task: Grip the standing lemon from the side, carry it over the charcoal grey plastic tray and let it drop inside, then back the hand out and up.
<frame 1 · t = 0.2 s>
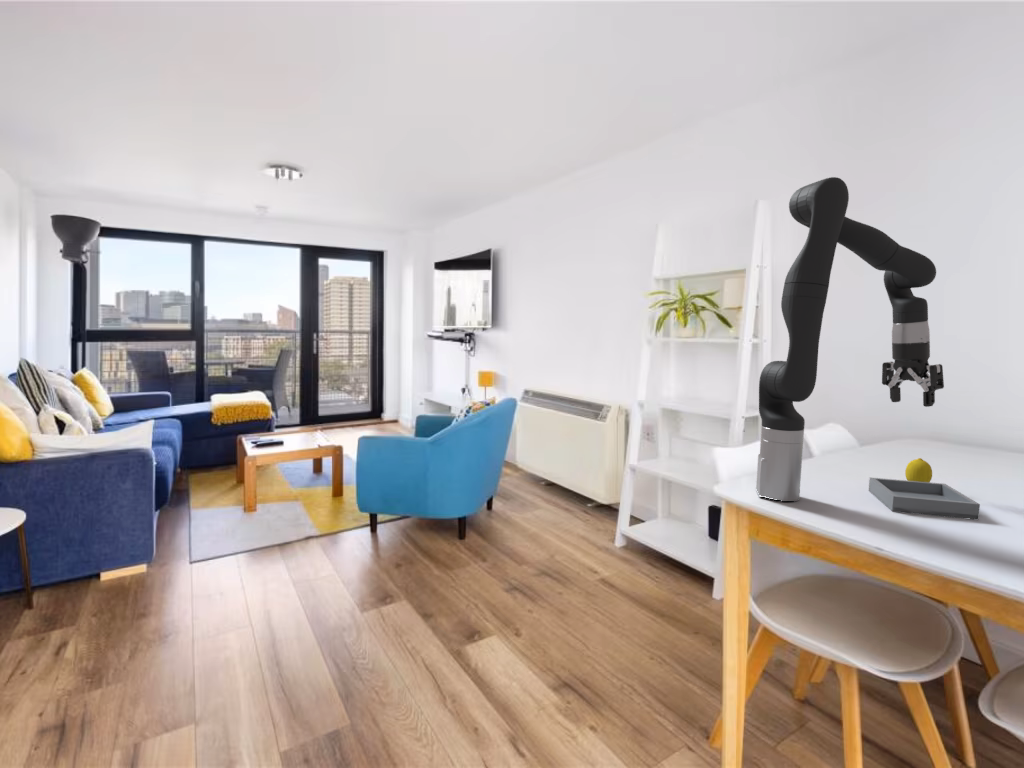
hand: (911, 403, 133), 22 cm above the table, tool pointing down, fingers open, 8 cm apart
lemon: (917, 488, 137), on the table
tray: (918, 504, 124), on the table
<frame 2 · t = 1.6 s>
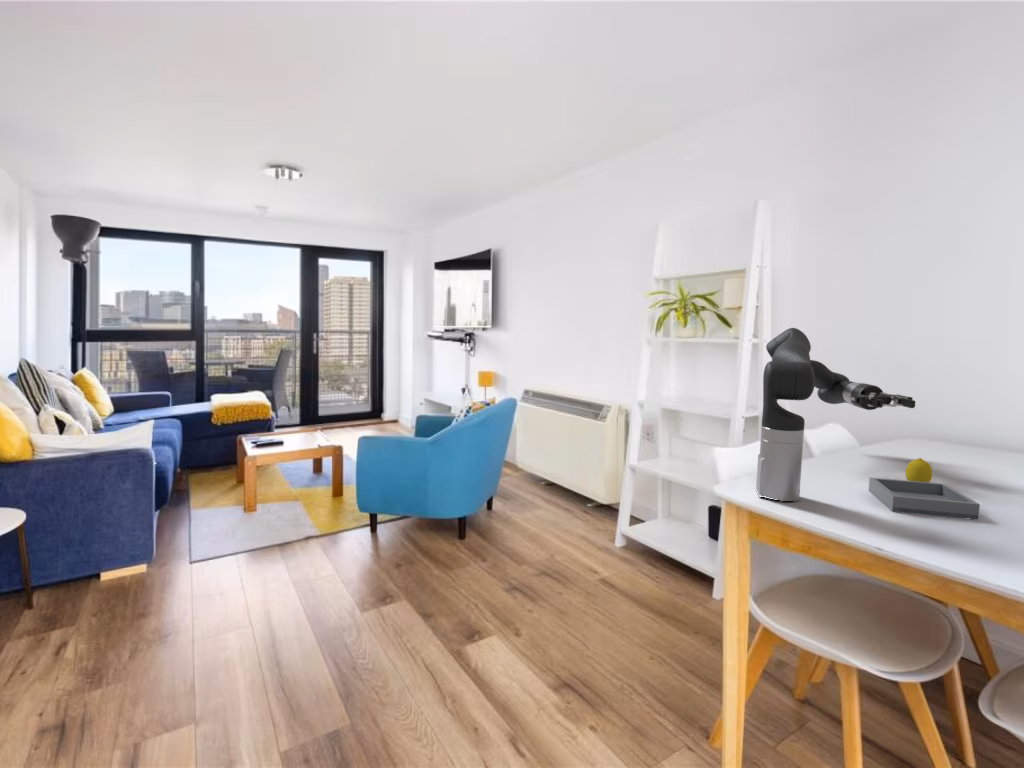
hand: (897, 404, 145), 21 cm above the table, tool horizontal, fingers open, 8 cm apart
nothing on the table moved.
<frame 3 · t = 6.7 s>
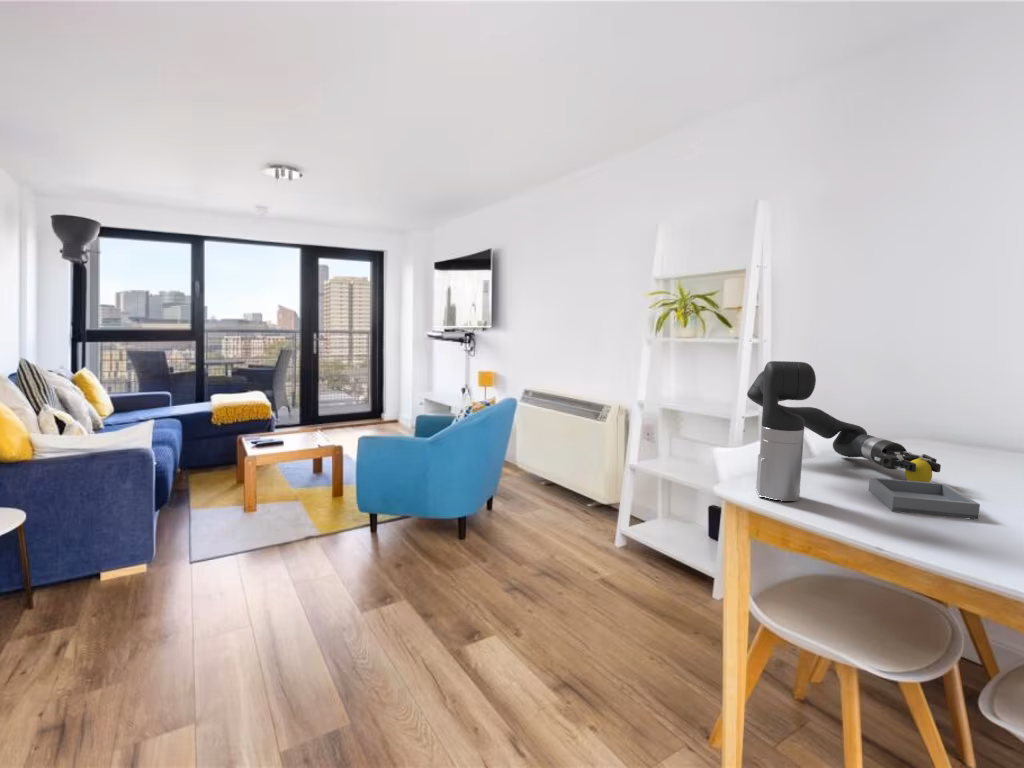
hand: (926, 468, 134), 6 cm above the table, tool horizontal, fingers closed on lemon, 5 cm apart
lemon: (917, 488, 137), on the table, touching gripper
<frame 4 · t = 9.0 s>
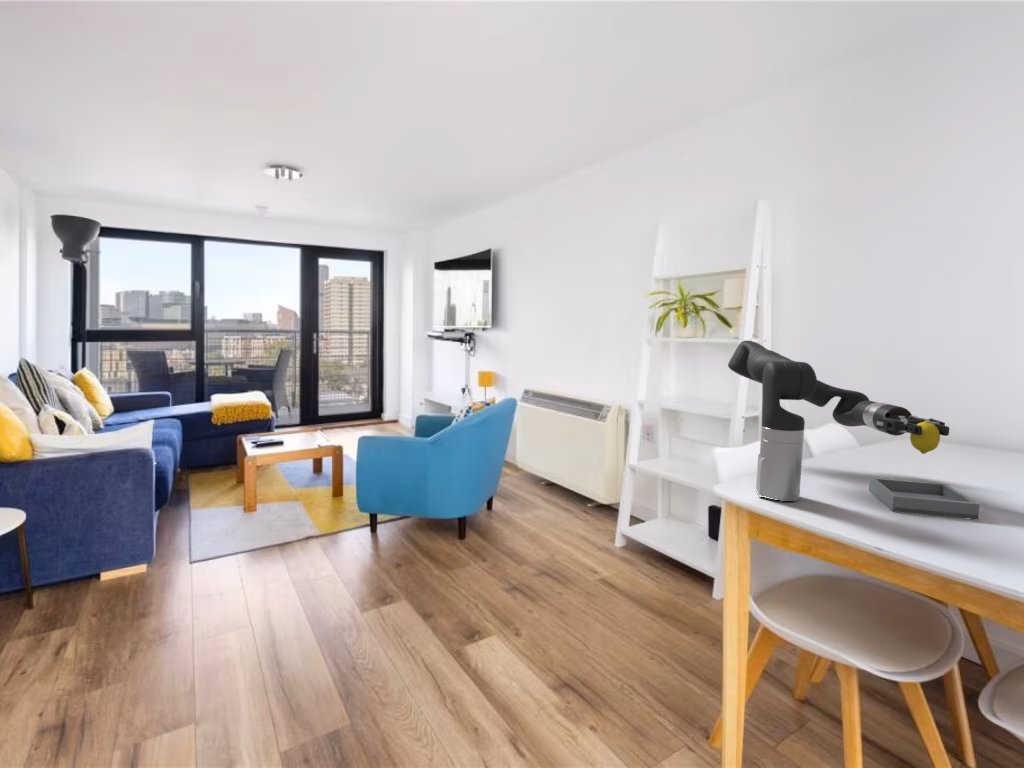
hand: (933, 431, 122), 18 cm above the table, tool horizontal, fingers closed on lemon, 5 cm apart
lemon: (923, 454, 125), point 12 cm above the table, touching gripper
when the fingers open (9 cm above the table, at t = 11.8 s): lemon drops 2 cm, resting on tray.
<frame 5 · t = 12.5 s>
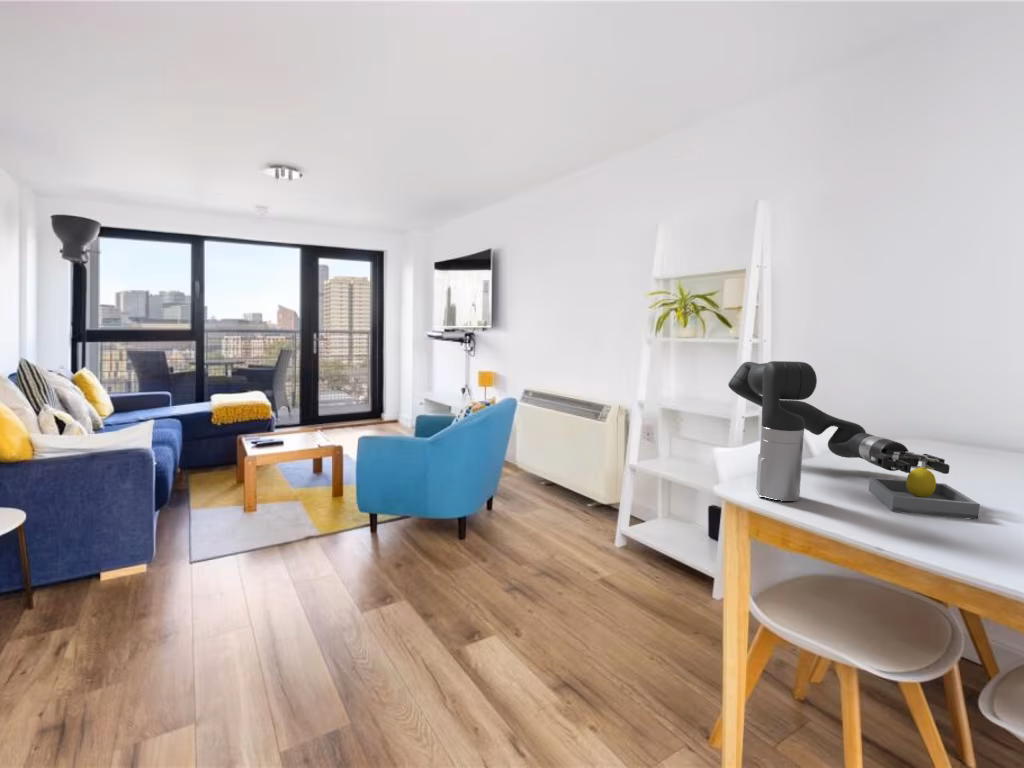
hand: (928, 469, 121), 9 cm above the table, tool horizontal, fingers open, 8 cm apart
lemon: (918, 500, 124), point 1 cm above the table, touching tray
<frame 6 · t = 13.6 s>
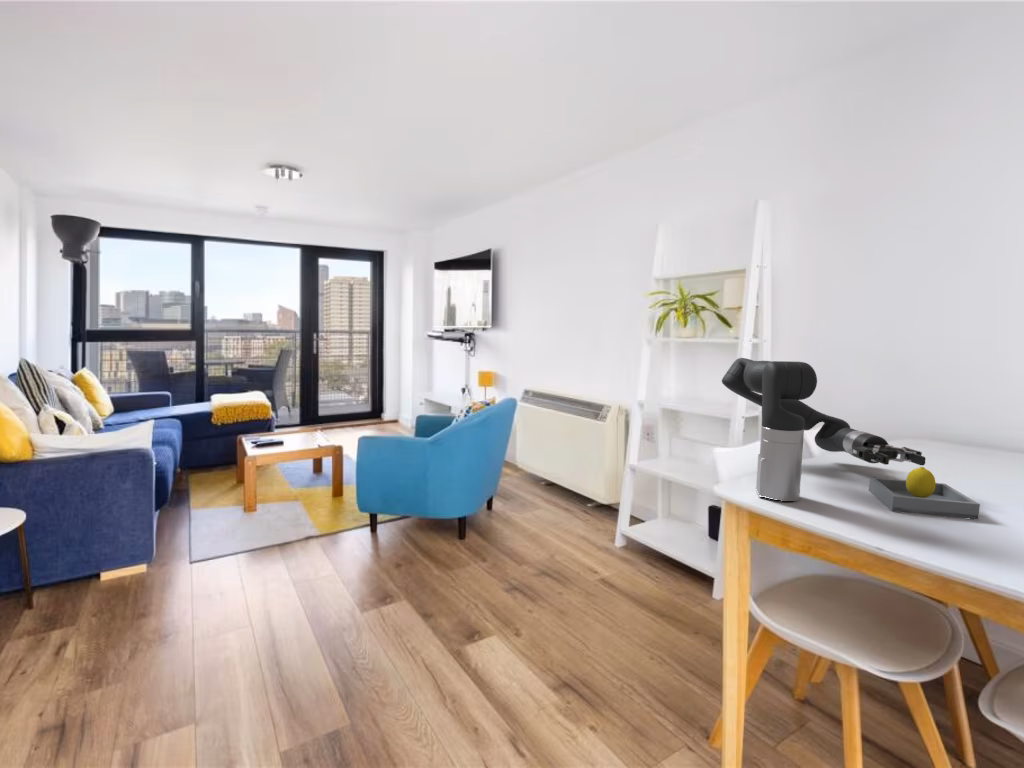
hand: (905, 461, 129), 9 cm above the table, tool horizontal, fingers open, 8 cm apart
nothing on the table moved.
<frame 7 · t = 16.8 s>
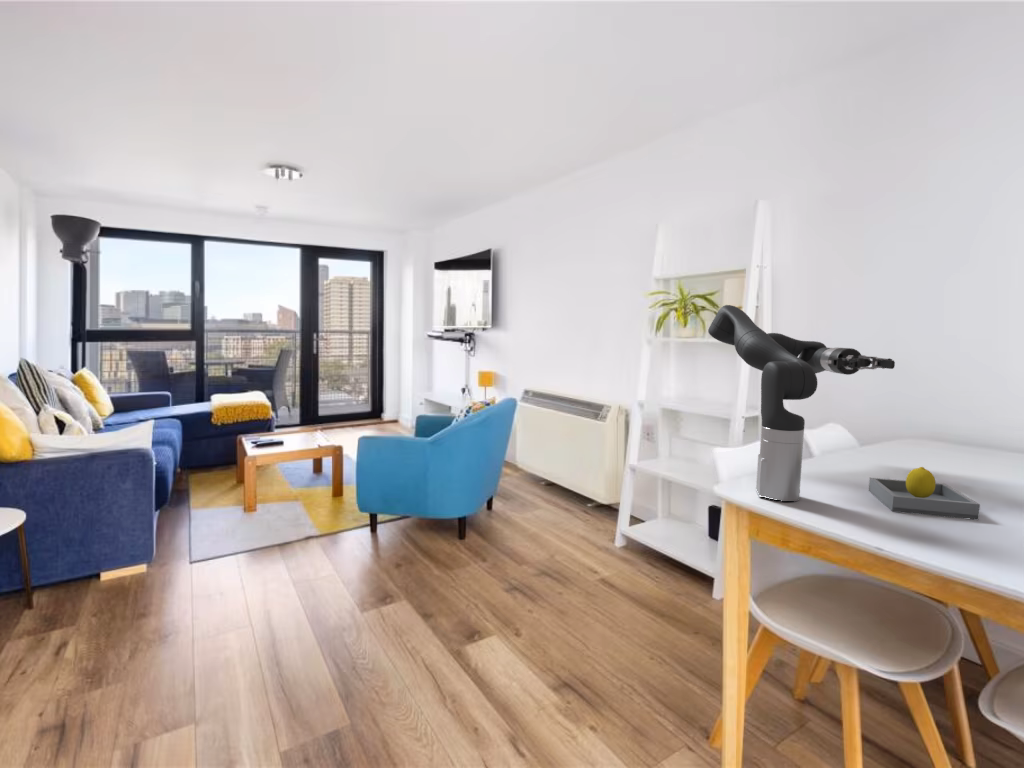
hand: (876, 364, 137), 32 cm above the table, tool horizontal, fingers open, 8 cm apart
nothing on the table moved.
at the end: lemon inside the target area on the tray (0.1 cm from its centre), point 0.8 cm above the tray's base; the gripper is holding nothing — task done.
